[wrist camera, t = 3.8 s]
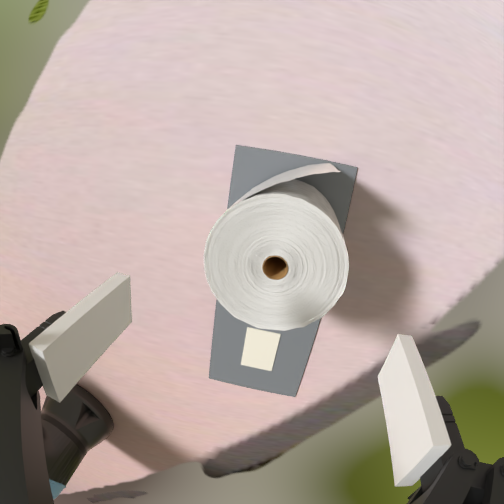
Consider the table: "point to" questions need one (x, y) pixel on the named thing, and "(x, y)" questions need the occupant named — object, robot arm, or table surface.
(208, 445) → the table surface
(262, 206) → the toilet tissue
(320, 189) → the label mat
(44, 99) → the table surface
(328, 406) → the table surface
